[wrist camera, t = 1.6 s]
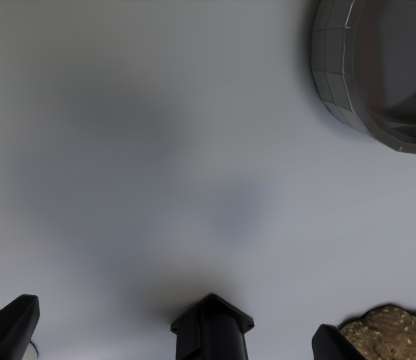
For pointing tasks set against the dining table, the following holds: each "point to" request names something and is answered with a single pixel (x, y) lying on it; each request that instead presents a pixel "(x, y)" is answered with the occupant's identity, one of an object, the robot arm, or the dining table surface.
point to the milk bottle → (30, 353)
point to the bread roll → (384, 334)
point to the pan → (368, 67)
